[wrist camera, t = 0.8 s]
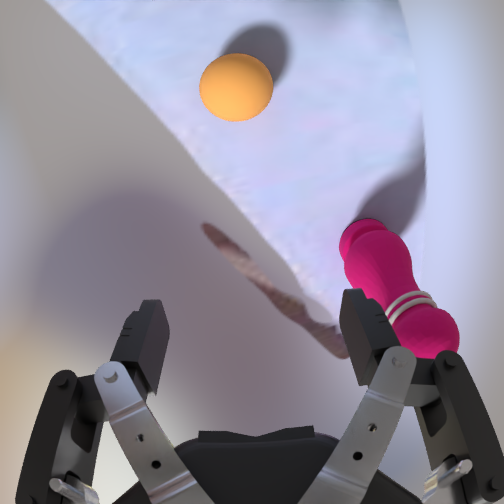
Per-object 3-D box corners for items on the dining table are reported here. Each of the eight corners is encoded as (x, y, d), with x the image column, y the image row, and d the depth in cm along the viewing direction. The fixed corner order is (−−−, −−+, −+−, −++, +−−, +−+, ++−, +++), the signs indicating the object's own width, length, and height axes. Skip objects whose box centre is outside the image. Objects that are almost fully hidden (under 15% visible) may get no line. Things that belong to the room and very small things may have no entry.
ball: (202, 60, 23) (191, 52, 18) (268, 56, 23) (275, 47, 17) (206, 120, 26) (196, 128, 21) (271, 116, 26) (278, 123, 21)
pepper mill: (395, 213, 31) (501, 340, 14) (385, 266, 35) (459, 398, 18) (337, 214, 31) (421, 364, 14) (331, 270, 35) (386, 421, 18)
